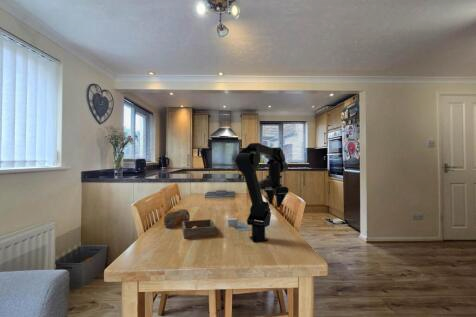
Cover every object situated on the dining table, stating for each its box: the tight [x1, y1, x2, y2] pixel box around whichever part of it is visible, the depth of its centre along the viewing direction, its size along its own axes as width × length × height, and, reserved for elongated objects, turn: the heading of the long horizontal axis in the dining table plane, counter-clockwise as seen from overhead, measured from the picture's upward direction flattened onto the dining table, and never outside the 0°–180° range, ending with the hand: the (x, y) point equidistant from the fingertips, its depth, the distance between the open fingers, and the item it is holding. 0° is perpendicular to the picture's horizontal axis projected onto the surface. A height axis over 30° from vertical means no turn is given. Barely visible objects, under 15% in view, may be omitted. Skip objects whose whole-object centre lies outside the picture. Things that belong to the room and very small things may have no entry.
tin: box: [163, 208, 190, 229], centre depth 130 cm, size 15×3×8 cm, turn 143°
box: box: [181, 218, 218, 240], centre depth 116 cm, size 14×14×5 cm
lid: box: [226, 217, 252, 232], centre depth 128 cm, size 16×16×5 cm
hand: (274, 205), depth 122 cm, fingers open, 9 cm apart
